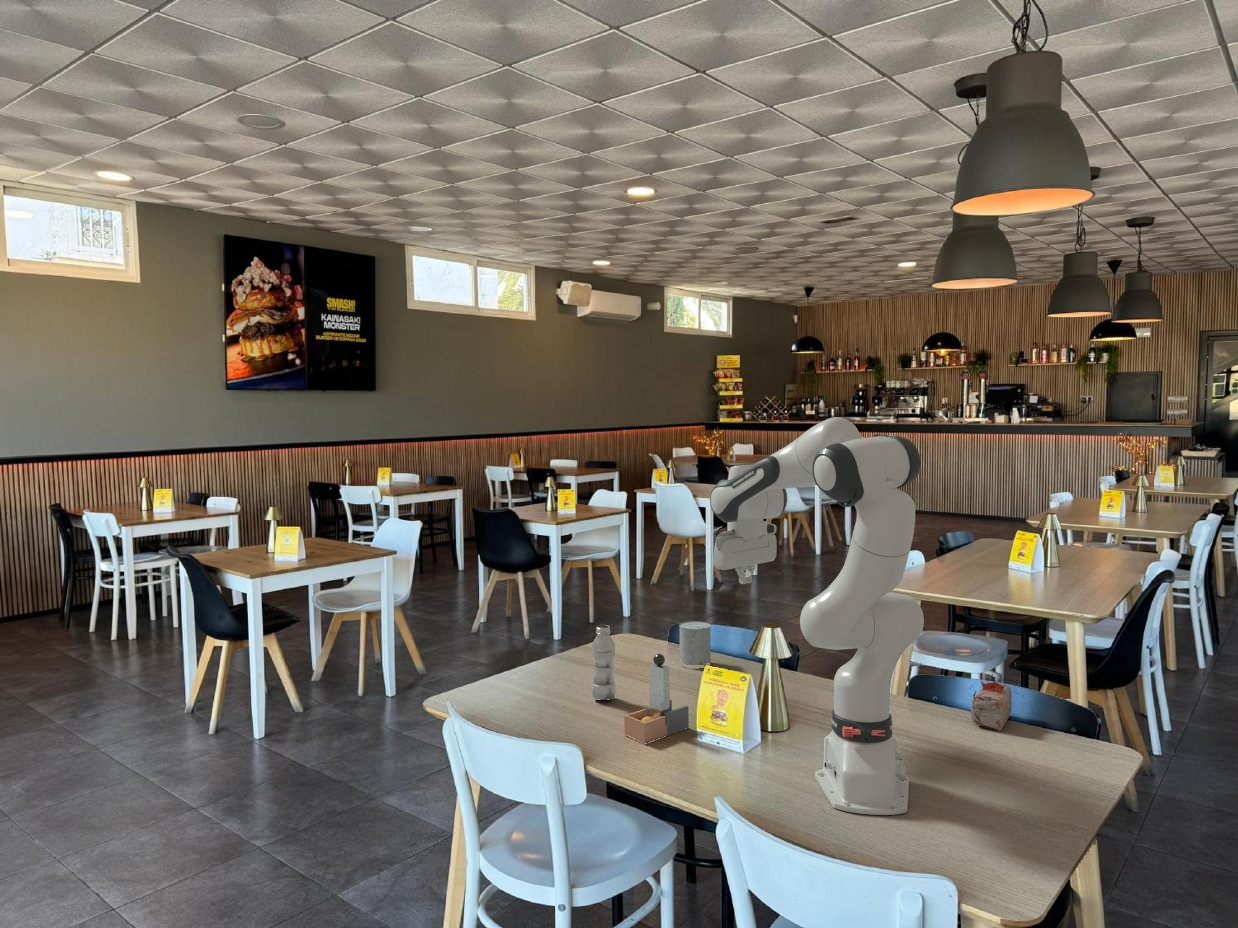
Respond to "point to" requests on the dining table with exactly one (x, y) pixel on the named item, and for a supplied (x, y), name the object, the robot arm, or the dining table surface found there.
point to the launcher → (676, 719)
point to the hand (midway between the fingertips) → (745, 583)
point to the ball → (647, 719)
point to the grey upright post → (658, 687)
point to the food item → (992, 705)
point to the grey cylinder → (695, 643)
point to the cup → (644, 727)
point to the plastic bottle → (603, 664)
